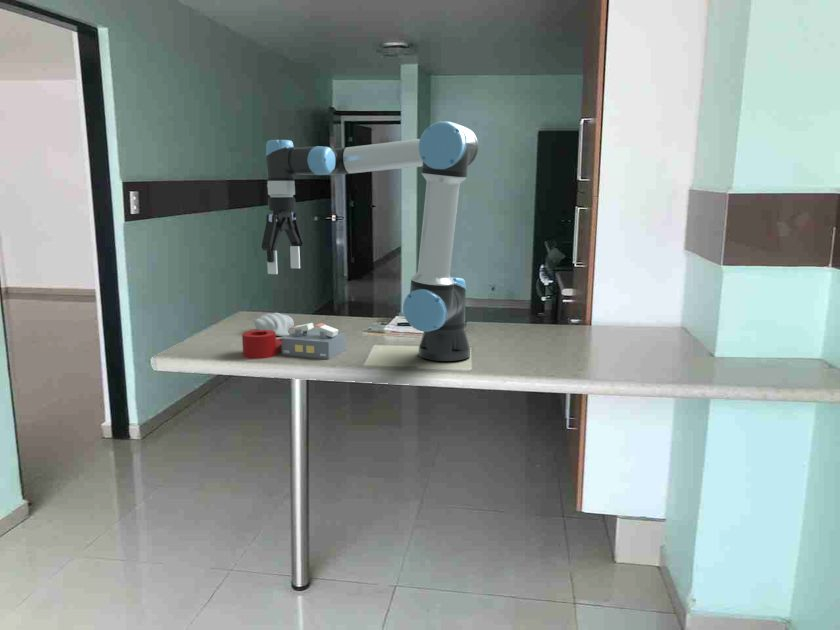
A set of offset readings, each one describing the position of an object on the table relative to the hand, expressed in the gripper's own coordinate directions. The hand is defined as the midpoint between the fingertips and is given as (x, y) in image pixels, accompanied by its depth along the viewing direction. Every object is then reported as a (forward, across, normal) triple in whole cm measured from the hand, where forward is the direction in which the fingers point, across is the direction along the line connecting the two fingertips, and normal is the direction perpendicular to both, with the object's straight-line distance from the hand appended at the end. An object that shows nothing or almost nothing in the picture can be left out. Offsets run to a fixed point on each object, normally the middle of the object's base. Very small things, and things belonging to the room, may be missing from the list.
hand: (284, 271), depth 195 cm
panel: (+24, -3, +7) cm, 26 cm away
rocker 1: (+17, -3, +3) cm, 18 cm away
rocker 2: (+17, -3, +11) cm, 21 cm away
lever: (+25, +1, -6) cm, 25 cm away
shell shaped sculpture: (+24, -22, -16) cm, 36 cm away
